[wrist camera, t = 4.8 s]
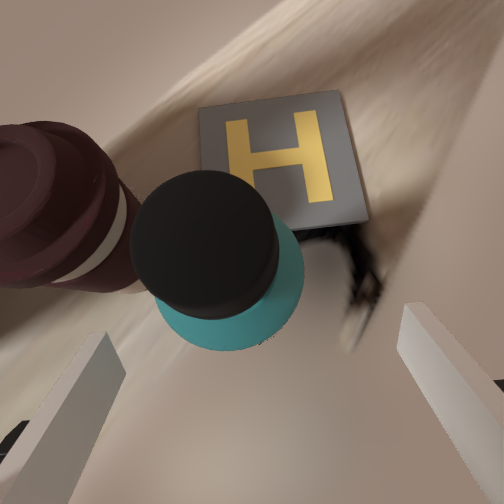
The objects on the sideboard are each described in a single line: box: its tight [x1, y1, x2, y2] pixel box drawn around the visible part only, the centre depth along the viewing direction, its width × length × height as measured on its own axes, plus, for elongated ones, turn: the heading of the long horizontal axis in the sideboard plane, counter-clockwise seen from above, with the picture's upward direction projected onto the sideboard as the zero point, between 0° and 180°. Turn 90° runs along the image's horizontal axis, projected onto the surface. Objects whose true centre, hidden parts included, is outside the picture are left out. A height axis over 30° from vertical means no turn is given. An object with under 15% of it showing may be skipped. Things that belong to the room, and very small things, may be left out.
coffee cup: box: [0, 121, 146, 294], centre depth 21 cm, size 10×10×15 cm
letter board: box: [198, 90, 369, 231], centre depth 30 cm, size 16×16×1 cm
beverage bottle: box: [130, 170, 304, 351], centre depth 17 cm, size 6×7×20 cm
